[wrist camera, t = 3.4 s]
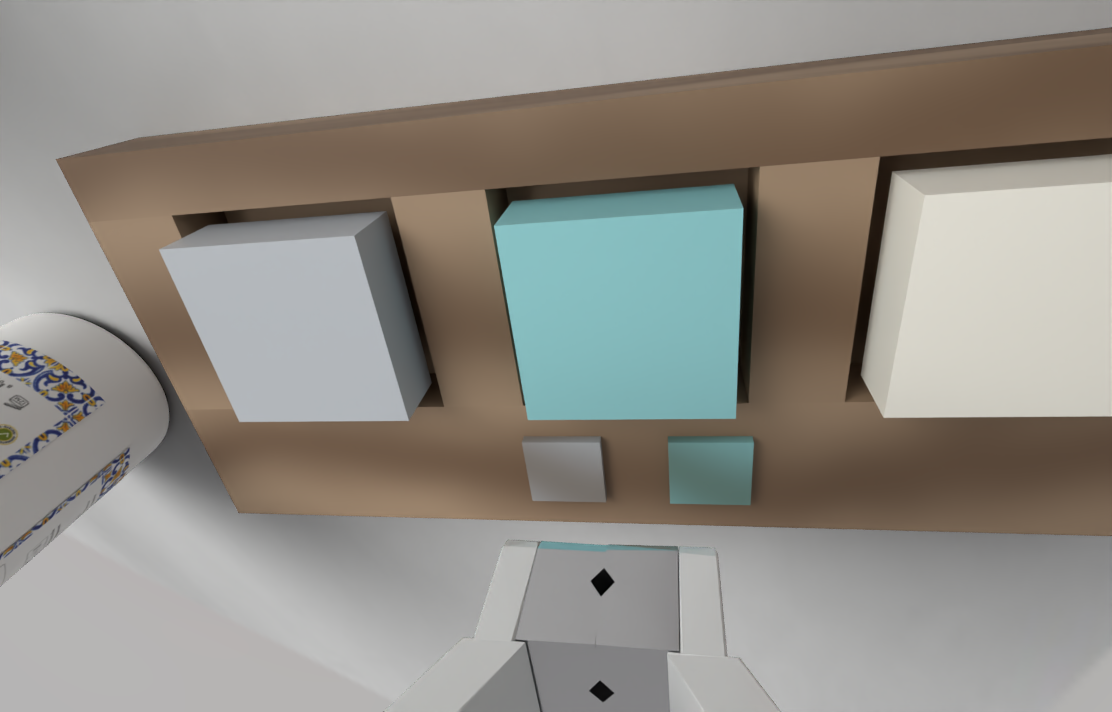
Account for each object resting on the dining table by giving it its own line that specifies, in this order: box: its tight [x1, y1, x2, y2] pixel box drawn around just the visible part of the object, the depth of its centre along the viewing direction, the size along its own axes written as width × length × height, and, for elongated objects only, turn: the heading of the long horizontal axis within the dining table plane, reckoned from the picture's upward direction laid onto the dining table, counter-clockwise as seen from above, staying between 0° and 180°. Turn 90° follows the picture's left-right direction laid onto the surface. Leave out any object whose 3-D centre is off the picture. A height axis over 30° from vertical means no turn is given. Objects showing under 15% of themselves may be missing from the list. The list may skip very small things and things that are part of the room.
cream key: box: [861, 154, 1112, 418], centre depth 14 cm, size 6×6×2 cm
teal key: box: [494, 184, 743, 420], centre depth 15 cm, size 6×6×2 cm
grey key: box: [159, 211, 432, 422], centre depth 17 cm, size 6×6×2 cm
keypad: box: [56, 28, 1112, 536], centre depth 18 cm, size 13×30×3 cm, turn 97°
